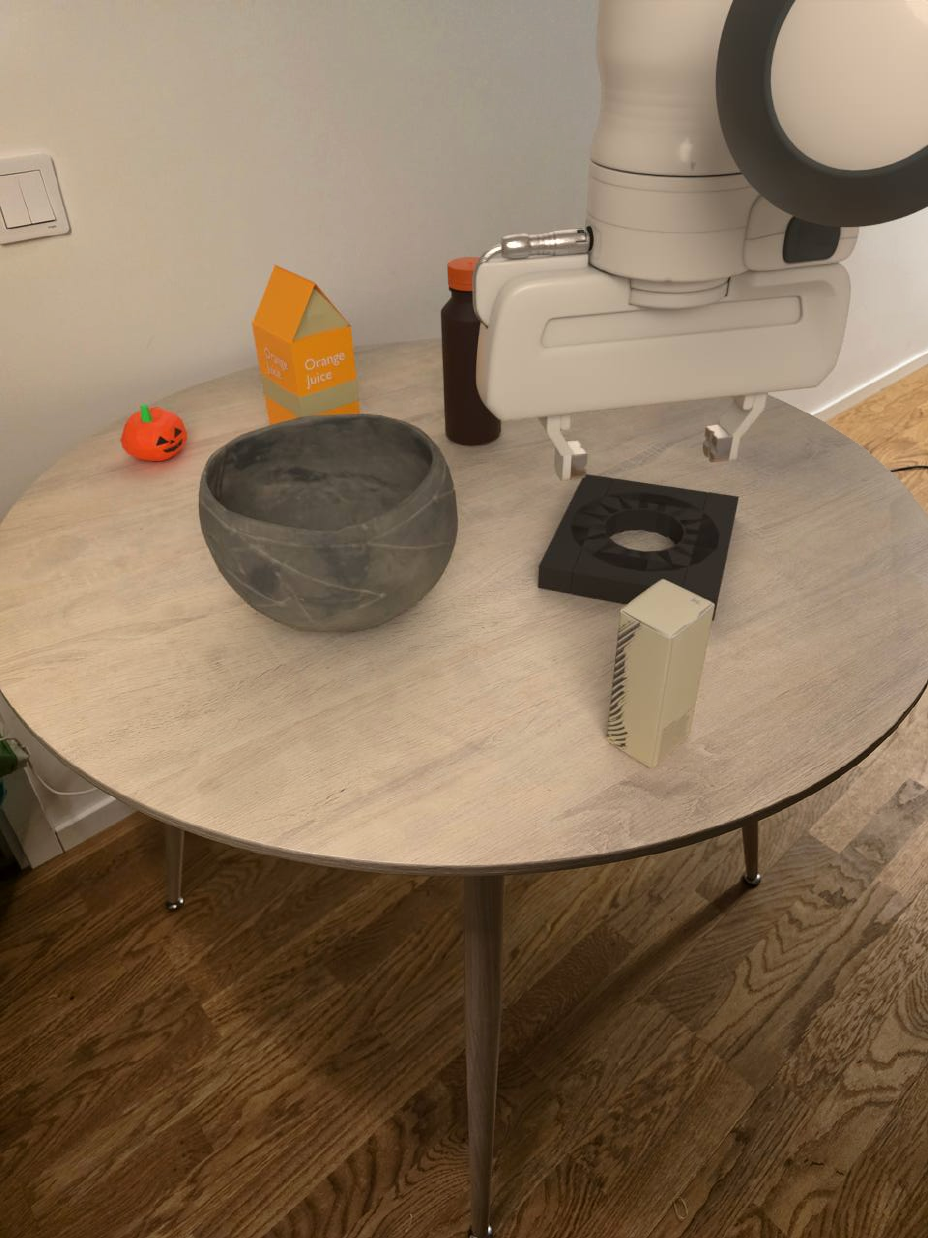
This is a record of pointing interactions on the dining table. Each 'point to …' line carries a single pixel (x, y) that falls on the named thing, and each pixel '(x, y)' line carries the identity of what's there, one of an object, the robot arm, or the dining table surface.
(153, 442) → the pumpkin
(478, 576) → the dining table surface
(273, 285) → the orange juice
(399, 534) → the bowl
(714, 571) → the pad
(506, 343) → the robot arm
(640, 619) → the box
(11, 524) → the dining table surface
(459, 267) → the bottle
